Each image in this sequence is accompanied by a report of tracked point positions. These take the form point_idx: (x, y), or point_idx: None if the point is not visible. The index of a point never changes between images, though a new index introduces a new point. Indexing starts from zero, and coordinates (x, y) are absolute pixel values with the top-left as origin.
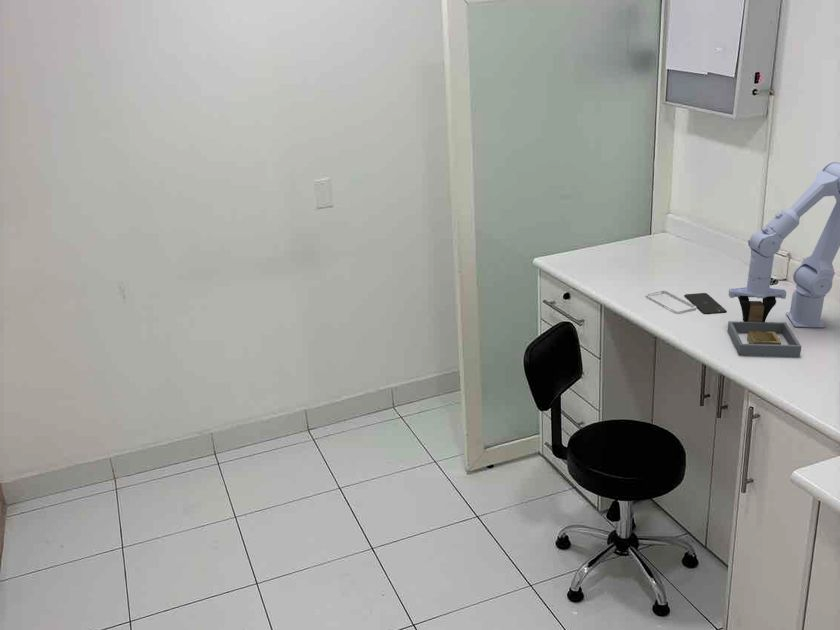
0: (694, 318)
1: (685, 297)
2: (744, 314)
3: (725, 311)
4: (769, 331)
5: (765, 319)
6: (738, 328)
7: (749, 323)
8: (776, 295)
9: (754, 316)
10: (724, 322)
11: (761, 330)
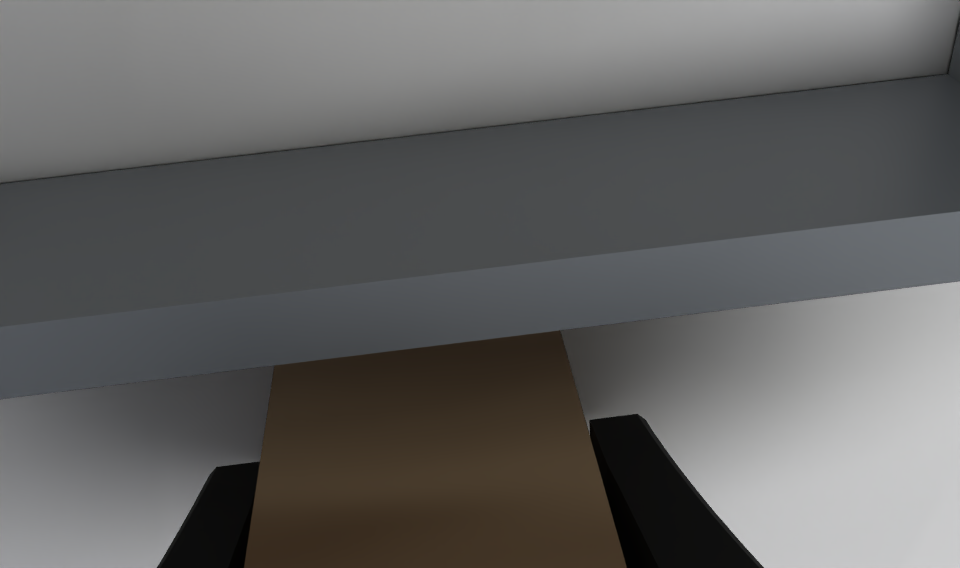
0: None
1: None
2: (748, 552)
3: None
4: (90, 194)
5: (183, 529)
6: (842, 136)
7: (623, 245)
8: None
9: (471, 535)
10: (879, 476)
11: (279, 183)
